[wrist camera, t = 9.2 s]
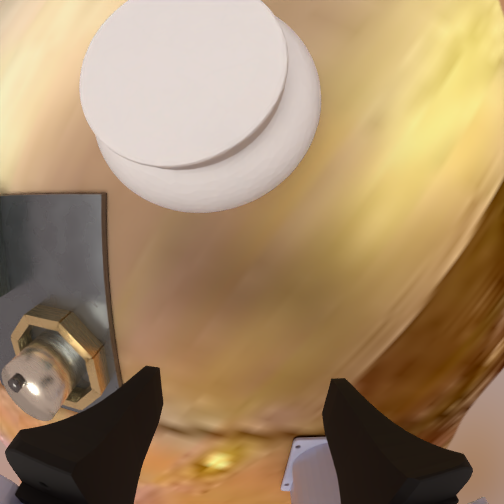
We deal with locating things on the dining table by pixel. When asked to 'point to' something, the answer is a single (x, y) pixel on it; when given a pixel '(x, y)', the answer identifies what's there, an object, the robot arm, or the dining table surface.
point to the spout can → (43, 375)
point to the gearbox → (59, 284)
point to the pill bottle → (200, 100)
